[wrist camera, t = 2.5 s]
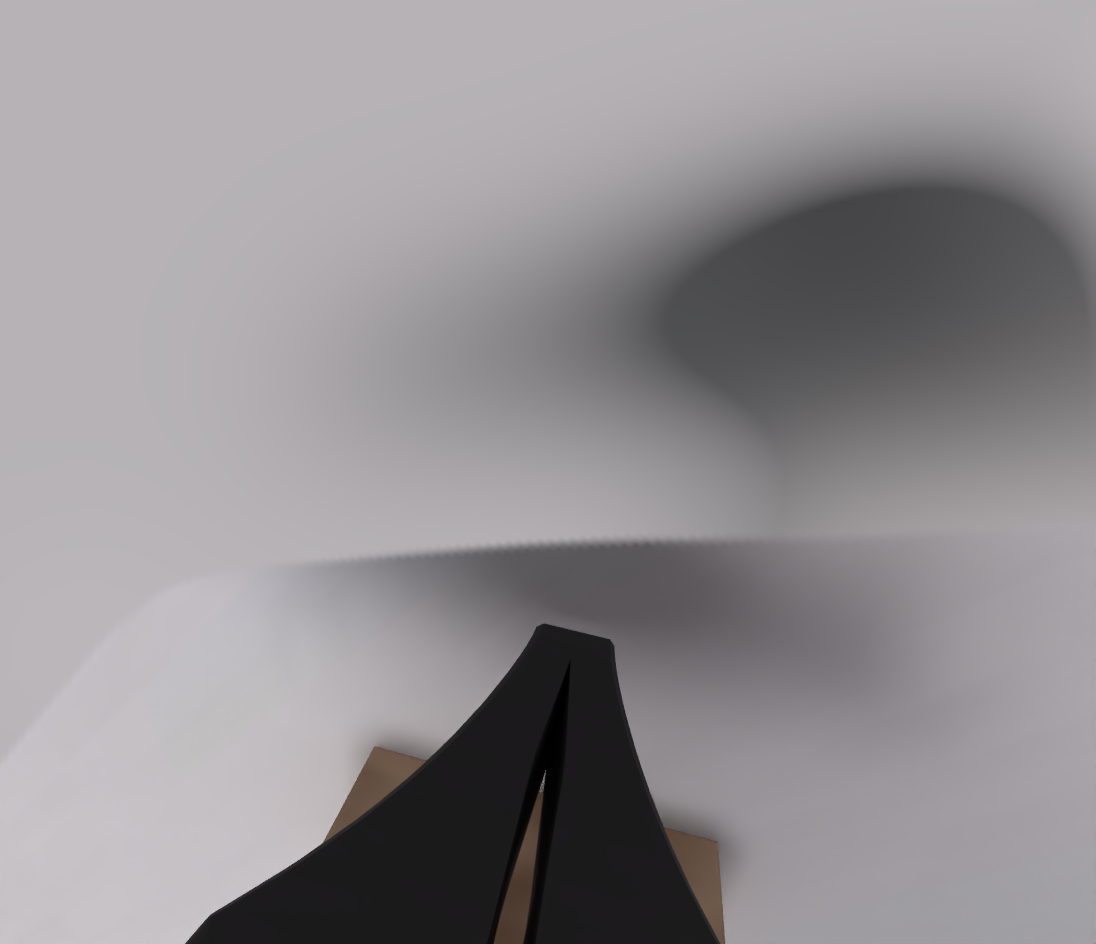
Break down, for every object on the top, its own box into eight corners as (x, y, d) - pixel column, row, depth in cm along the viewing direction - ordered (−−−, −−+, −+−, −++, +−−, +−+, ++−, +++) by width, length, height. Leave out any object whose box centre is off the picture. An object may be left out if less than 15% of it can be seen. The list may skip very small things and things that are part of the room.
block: (716, 832, 16) (731, 1023, 12) (659, 962, 18) (657, 1151, 15) (378, 739, 16) (297, 891, 13) (369, 875, 19) (300, 1034, 15)
